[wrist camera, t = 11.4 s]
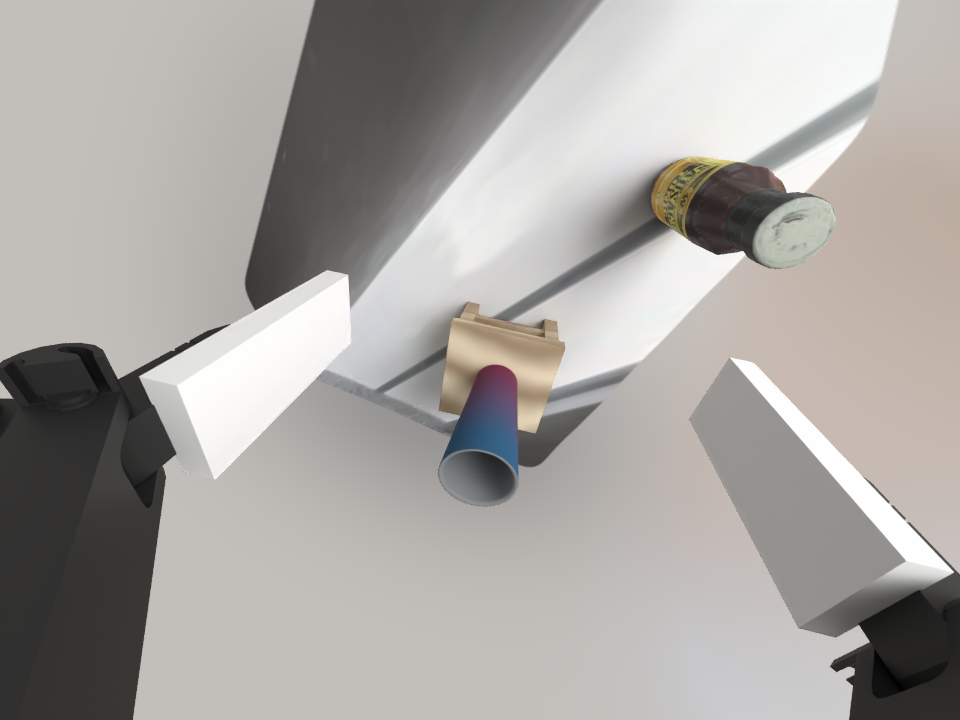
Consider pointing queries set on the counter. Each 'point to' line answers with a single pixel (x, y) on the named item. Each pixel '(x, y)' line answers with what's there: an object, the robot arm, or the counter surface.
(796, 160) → the counter surface
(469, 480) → the cup
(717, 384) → the robot arm
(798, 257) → the sauce bottle
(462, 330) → the beige streaked flat-top fixture
